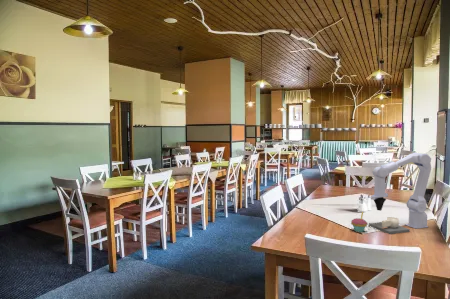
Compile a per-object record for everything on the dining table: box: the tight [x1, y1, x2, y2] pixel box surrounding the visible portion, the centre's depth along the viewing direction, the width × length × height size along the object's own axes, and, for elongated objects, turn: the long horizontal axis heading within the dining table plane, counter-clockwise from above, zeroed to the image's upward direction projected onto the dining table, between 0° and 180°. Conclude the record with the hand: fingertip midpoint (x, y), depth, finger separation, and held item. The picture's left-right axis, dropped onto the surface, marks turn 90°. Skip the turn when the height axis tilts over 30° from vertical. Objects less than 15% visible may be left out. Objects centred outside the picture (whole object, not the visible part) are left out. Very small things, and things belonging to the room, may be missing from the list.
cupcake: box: [350, 211, 368, 233], centre depth 180 cm, size 9×8×12 cm
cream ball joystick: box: [381, 216, 400, 227], centre depth 181 cm, size 12×6×4 cm, turn 118°
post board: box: [368, 221, 411, 235], centre depth 184 cm, size 14×16×2 cm
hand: (379, 210), depth 187 cm, fingers closed
